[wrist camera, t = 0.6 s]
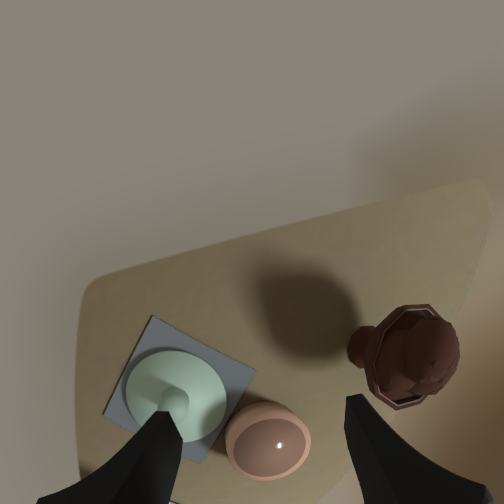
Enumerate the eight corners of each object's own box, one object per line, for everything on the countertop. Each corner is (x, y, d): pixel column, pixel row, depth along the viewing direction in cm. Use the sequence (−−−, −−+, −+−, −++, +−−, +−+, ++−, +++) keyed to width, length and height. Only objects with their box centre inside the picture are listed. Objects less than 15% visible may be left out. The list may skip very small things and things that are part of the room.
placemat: (200, 463, 27) (200, 464, 27) (103, 415, 27) (103, 415, 26) (255, 370, 31) (256, 370, 30) (153, 315, 30) (152, 315, 29)
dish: (276, 471, 29) (285, 487, 25) (210, 449, 28) (212, 466, 24) (312, 415, 31) (325, 427, 27) (246, 389, 30) (253, 400, 26)
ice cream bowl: (316, 380, 32) (389, 424, 17) (346, 292, 34) (432, 283, 19) (382, 395, 33) (463, 426, 18) (408, 316, 35) (494, 316, 20)
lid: (199, 453, 28) (199, 471, 23) (113, 410, 27) (102, 424, 23) (243, 378, 30) (249, 390, 26) (152, 331, 29) (145, 336, 25)
